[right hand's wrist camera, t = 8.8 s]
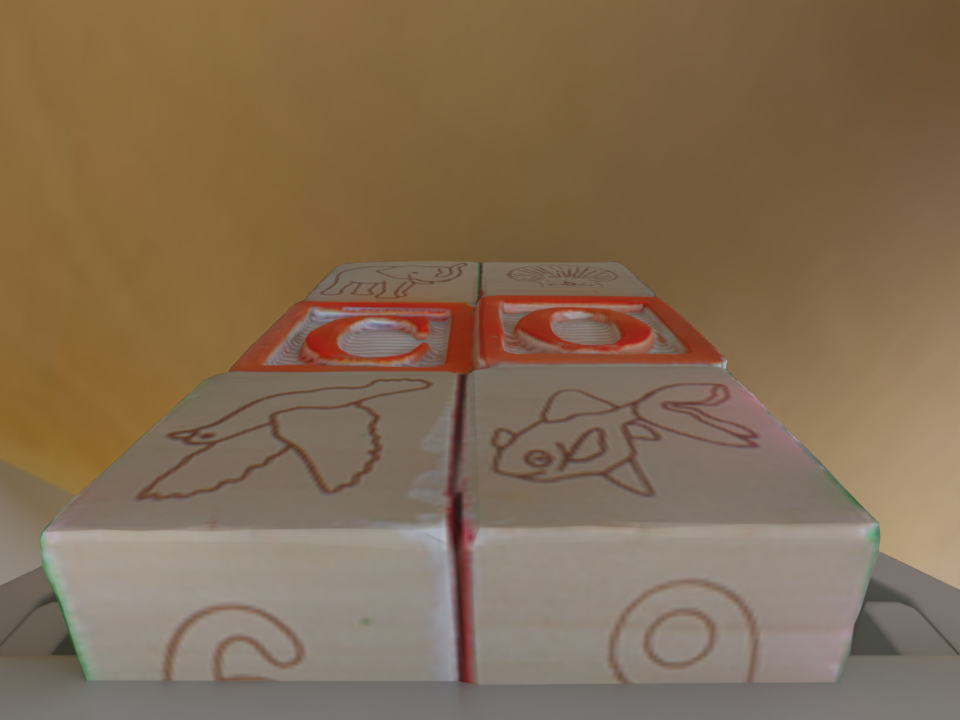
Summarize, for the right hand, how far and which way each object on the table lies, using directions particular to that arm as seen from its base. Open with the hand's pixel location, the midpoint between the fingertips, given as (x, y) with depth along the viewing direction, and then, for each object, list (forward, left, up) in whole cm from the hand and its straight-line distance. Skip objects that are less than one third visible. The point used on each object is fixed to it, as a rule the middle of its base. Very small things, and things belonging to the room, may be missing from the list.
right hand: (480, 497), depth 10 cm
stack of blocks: (0, +7, -4) cm, 8 cm away
